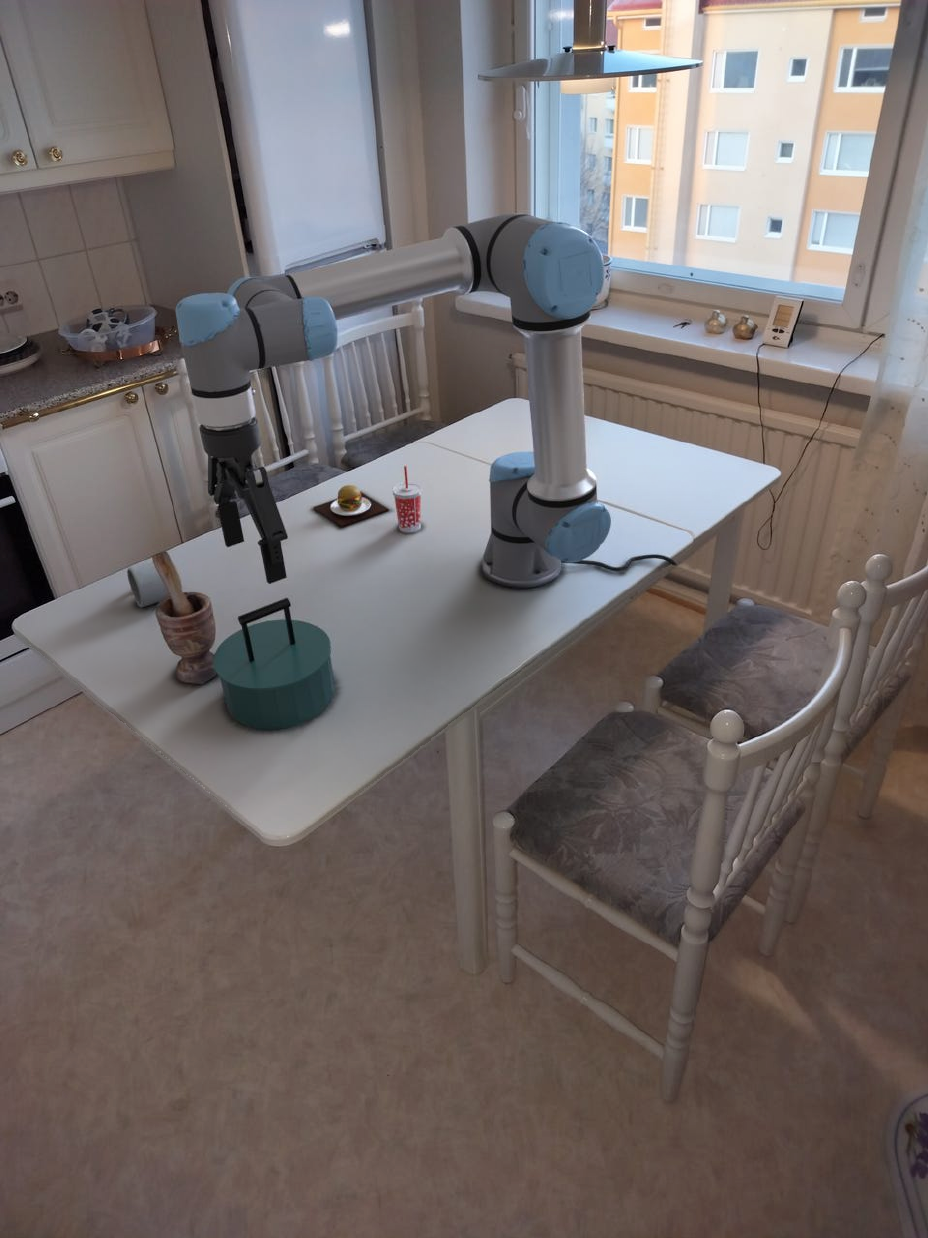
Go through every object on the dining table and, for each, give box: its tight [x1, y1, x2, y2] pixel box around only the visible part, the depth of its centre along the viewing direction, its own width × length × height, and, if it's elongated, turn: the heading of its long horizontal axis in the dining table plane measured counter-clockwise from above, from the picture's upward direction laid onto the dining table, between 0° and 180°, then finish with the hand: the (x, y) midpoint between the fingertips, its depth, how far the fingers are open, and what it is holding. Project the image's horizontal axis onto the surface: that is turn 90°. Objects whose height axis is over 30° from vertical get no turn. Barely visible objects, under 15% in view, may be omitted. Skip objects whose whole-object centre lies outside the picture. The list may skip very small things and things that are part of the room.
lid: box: [213, 597, 332, 691], centre depth 132 cm, size 18×18×9 cm
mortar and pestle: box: [151, 550, 218, 685], centre depth 140 cm, size 12×9×20 cm
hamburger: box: [313, 484, 390, 529], centre depth 191 cm, size 12×12×6 cm
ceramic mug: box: [126, 561, 183, 608], centre depth 163 cm, size 11×8×8 cm
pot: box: [220, 656, 335, 731], centre depth 137 cm, size 17×17×8 cm
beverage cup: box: [391, 465, 423, 534], centre depth 180 cm, size 6×6×14 cm
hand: (255, 561), depth 125 cm, fingers open, 13 cm apart
